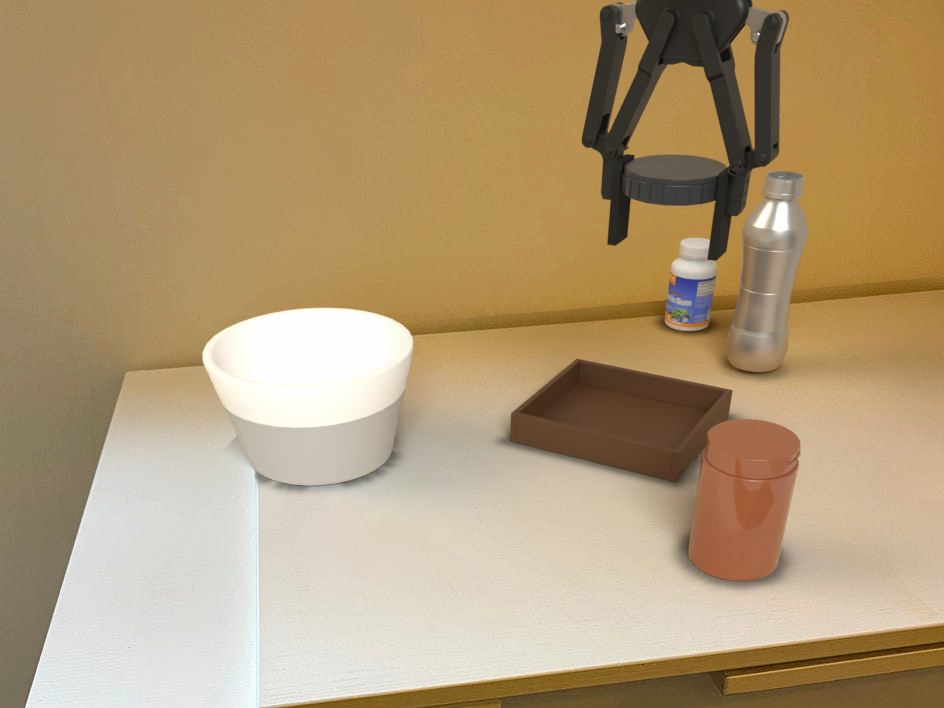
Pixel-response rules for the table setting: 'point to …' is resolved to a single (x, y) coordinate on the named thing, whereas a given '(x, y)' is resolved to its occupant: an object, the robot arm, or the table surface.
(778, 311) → the silver bottle
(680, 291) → the pill bottle
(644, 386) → the tray
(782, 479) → the jam jar
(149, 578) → the table surface
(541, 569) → the table surface
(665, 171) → the jar lid
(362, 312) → the bowl
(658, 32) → the robot arm
